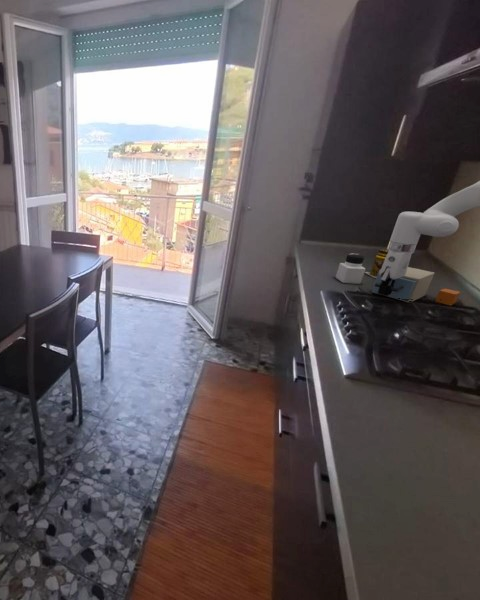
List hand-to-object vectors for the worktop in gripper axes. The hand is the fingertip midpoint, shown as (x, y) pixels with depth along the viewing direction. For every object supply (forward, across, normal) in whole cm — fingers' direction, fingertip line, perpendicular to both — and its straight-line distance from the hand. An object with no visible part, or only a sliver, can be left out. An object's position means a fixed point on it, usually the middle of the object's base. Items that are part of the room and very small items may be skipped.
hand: (384, 293), depth 135 cm
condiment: (+3, +34, +15) cm, 37 cm away
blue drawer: (+2, +9, 0) cm, 9 cm away
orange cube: (+3, +20, -13) cm, 24 cm away
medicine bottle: (+3, +14, +18) cm, 23 cm away
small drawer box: (+3, +15, 0) cm, 15 cm away
